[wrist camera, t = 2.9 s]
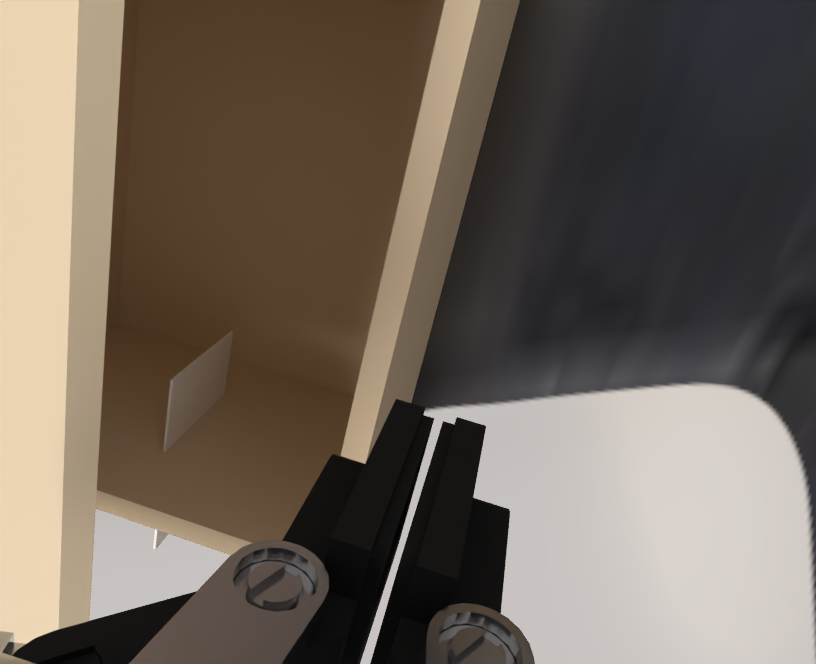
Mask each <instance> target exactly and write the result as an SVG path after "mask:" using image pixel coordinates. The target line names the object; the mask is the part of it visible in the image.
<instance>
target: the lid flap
mask: <svg viewBox="0 0 816 664" xmlns="http://www.w3.org/2000/svg"><path fill="white" fill-rule="evenodd" d="M124 1H125V0H0V631H4V632H12V633H14V642H16V643H24V644H27V643H28V642H30V641H31V640H33V639H34V638H37V637H39V636H42V635H44V634H47V633H50V632H52V631H55V630H58V629H62V628H66V627H69V626H73V625H76V624H80V623H84V622H87V621H89V616H90V598H91V580H92V563H93V544H94V526H95V510H96V493H97V475H98V457H99V440H100V422H101V405H102V387H103V370H104V352H105V334H106V317H107V299H108V282H109V264H110V247H111V229H112V211H113V194H114V176H115V159H116V141H117V124H118V106H119V88H120V71H121V53H122V36H123V18H124Z"/></svg>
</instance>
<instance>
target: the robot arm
mask: <svg viewBox="0 0 816 664" xmlns="http://www.w3.org/2000/svg"><path fill="white" fill-rule="evenodd" d="M424 410H425V407H422V406H418V405H415V404H412V403H409V402H405V401H402V400H399V399H396V400H395V402H394V404H393V406H392V408H391V410H390V413H389V415H388V417H387V419H386V421H385V423H384V425H383V427H382V429H381V432H380V434H379V436H378V438H377V440H376V442H375V444H374V446H373V448H372V451H371V453H370V455H369V457H368V459H367V461H366V463H365V464H364V463H361V462H358V461H355V460H351V459H348V458H345V457H342V456H339V455H336V454H333V455H331V457H330V458H329V460H328V461H327V463H326V465H325V467H324V468H323V470H322V472H321V474H320V475H319V477H318V479H317V481H316V482H315V484H314V486H313V488H312V489H311V491H310V493H309V495H308V496H307V498H306V500H305V501H304V503H303V505H302V507H301V508H300V510H299V512H298V514H297V515H296V517H295V519H294V521H293V522H292V524H291V526H290V528H289V529H288V531H287V533H286V535H285V536H284V538H283V540H282V541H278V540H267V541H259V542H254V543H252V544H249V545H246V546H244V547H241V548H240V549H239V550H238V551H236V552H235V553H234V554H232V555H231V556H230V557H229V558H228V559H227V560H226V561H225V562H224V563H223V564H222V565H221V567H220V568H219V569H218V570H217V571H216V572H215V573H214V574H213V575H212V576H211V577H210V578H209V579H208V581H206V582H205V583H204V585H203V586H202V587H201V588H200V589H199V590H198V591H196V592H193V593H190V594H185V595H182V596H178V597H175V598H171V599H167V600H164V601H160V602H157V603H153V604H149V605H145V606H142V607H138V608H135V609H131V610H127V611H124V612H120V613H116V614H113V615H109V616H106V617H102V618H98V619H95V620H91V621H87V622H84V623H80V624H76V625H73V626H69V627H66V628H62V629H58V630H55V631H52V632H50V633H47V634H44V635H42V636H39V637H37V638H34V639H33V640H31V641H30V642H28V643H27V644H24V643H16V642H14V633H12V632H4V631H0V664H360V661H361V658H362V655H363V652H364V649H365V646H366V643H367V640H368V637H369V633H370V631H371V628H372V625H373V621H374V618H375V615H376V612H377V609H378V606H379V603H380V600H381V596H382V594H383V590H384V587H385V584H386V581H387V578H388V575H389V572H390V569H391V566H392V563H393V559H394V556H395V553H396V550H397V547H398V544H399V540H400V537H401V533H402V529H403V526H404V523H405V519H406V516H407V512H408V509H409V505H410V502H411V498H412V494H413V491H414V487H415V484H416V481H417V477H418V473H419V470H420V466H421V463H422V459H423V456H424V452H425V449H426V445H427V442H428V438H429V435H430V431H431V428H432V424H433V420H434V418H430V417H427V416H424V415H423V414H424ZM485 429H486V426H484V425H481V424H477V423H474V422H471V421H468V420H464V419H461V418H458V417H457V419H456V422H455V425H453V424H450V423H447V422H443V424H442V427H441V430H440V434H439V437H438V440H437V443H436V447H435V450H434V453H433V456H432V459H431V463H430V466H429V469H428V472H427V476H426V479H425V482H424V486H423V489H422V492H421V496H420V499H419V502H418V505H417V508H416V511H415V515H414V518H413V521H412V525H411V527H410V531H409V534H408V537H407V541H406V544H405V547H404V550H403V554H402V557H401V560H400V564H399V567H398V570H397V574H396V577H395V581H394V584H393V587H392V591H391V595H390V598H389V601H388V605H387V609H386V612H385V615H384V619H383V623H382V626H381V629H380V633H379V636H378V639H377V643H376V647H375V650H374V653H373V657H372V660H371V663H370V664H535V662H534V657H533V654H532V650H531V648H530V644H529V642H528V641H527V639H526V638H525V636H524V635H523V633H522V632H521V630H520V629H519V628H518V627H517V626H516V625H515V624H513V623H512V622H511V621H510V620H509V619H508V618H507V617H505V616H503V615H502V614H501V603H502V592H503V582H504V571H505V560H506V549H507V538H508V528H509V517H510V511H509V509H507V508H503V507H500V506H497V505H493V504H491V503H487V502H484V501H481V500H478V499H475V498H473V494H474V489H475V483H476V478H477V472H478V467H479V461H480V455H481V451H482V445H483V440H484V434H485Z"/></svg>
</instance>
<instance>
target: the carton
mask: <svg viewBox="0 0 816 664" xmlns="http://www.w3.org/2000/svg"><path fill="white" fill-rule="evenodd" d="M519 2H520V0H125V1H124V18H123V36H122V53H121V71H120V88H119V106H118V124H117V141H116V159H115V176H114V194H113V211H112V229H111V247H110V264H109V282H108V299H107V317H106V334H105V352H104V370H103V387H102V405H101V422H100V440H99V457H98V475H97V493H96V509H99V510H101V511H104V512H107V513H110V514H113V515H116V516H119V517H122V518H125V519H128V520H130V521H133V522H136V523H139V524H142V525H145V526H148V527H151V528H154V529H155V536H154V545H153V549H156V548H157V547H158V546H159V545H160V543H161V542H162V541H163V540H164V539H165V537H166V536H167V535H168V534H171V535H174V536H177V537H180V538H183V539H186V540H189V541H192V542H195V543H197V544H201V545H203V546H206V547H209V548H212V549H215V550H218V551H221V552H224V553H227V554H229V555H232V554H234V553H235V552H236V551H238V550H239V549H240V548H241V547H244V546H246V545H249V544H252V543H254V542H259V541H267V540H278V541H282V540H283V538H284V536H285V535H286V533H287V531H288V529H289V528H290V526H291V524H292V522H293V521H294V519H295V517H296V515H297V514H298V512H299V510H300V508H301V507H302V505H303V503H304V501H305V500H306V498H307V496H308V495H309V493H310V491H311V489H312V488H313V486H314V484H315V482H316V481H317V479H318V477H319V475H320V474H321V472H322V470H323V468H324V467H325V465H326V463H327V461H328V460H329V458H330V457H331V455H333V454H336V455H339V456H342V457H345V458H348V459H351V460H355V461H358V462H361V463H364V464H365V463H366V461H367V459H368V457H369V455H370V453H371V451H372V448H373V446H374V444H375V442H376V440H377V438H378V436H379V434H380V432H381V429H382V427H383V425H384V423H385V421H386V419H387V417H388V415H389V413H390V410H391V408H392V406H393V404H394V402H395V400H396V399H399V400H402V401H405V402H409V403H412V399H413V395H414V391H415V388H416V384H417V380H418V377H419V373H420V369H421V365H422V362H423V358H424V354H425V351H426V347H427V343H428V340H429V336H430V332H431V328H432V325H433V321H434V317H435V314H436V310H437V306H438V302H439V299H440V295H441V291H442V288H443V284H444V280H445V276H446V273H447V269H448V265H449V262H450V258H451V254H452V251H453V247H454V243H455V239H456V236H457V232H458V228H459V225H460V221H461V217H462V213H463V210H464V206H465V202H466V199H467V195H468V191H469V187H470V184H471V180H472V176H473V173H474V169H475V165H476V161H477V158H478V154H479V150H480V147H481V143H482V139H483V136H484V132H485V128H486V124H487V121H488V117H489V113H490V110H491V106H492V102H493V98H494V95H495V91H496V87H497V84H498V80H499V76H500V72H501V69H502V65H503V61H504V58H505V54H506V50H507V47H508V43H509V39H510V35H511V32H512V28H513V24H514V21H515V17H516V13H517V9H518V6H519Z"/></svg>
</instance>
